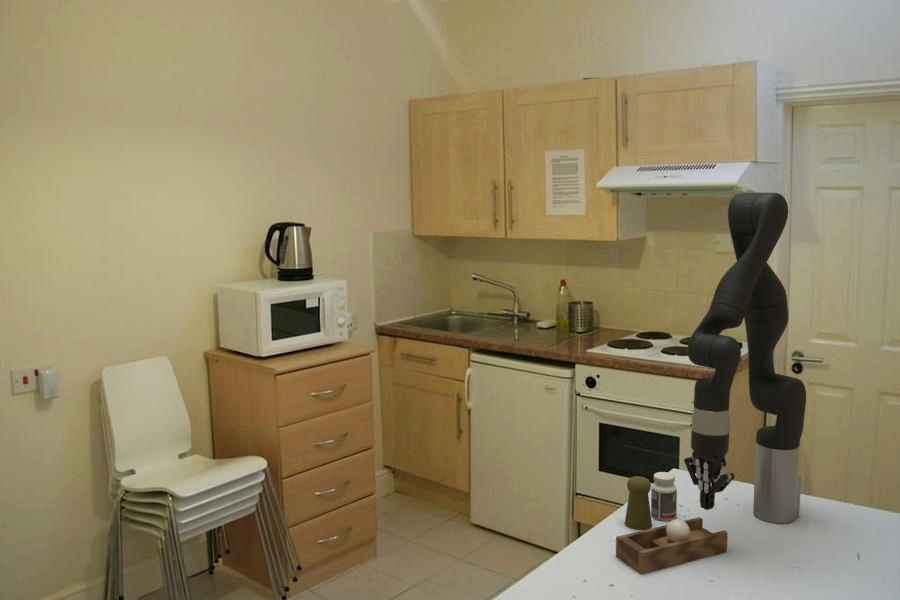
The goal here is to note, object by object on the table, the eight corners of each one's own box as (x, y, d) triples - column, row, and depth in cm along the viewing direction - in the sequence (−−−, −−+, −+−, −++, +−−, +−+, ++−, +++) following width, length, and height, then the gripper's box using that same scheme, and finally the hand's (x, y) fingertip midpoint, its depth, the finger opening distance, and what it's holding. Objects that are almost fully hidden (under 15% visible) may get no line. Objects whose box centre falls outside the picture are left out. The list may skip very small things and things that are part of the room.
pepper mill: (652, 531, 175) (653, 483, 173) (624, 529, 176) (625, 482, 175) (651, 520, 181) (652, 474, 179) (624, 518, 182) (625, 472, 181)
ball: (679, 535, 167) (679, 513, 167) (694, 544, 163) (695, 522, 162) (660, 539, 165) (661, 518, 165) (676, 549, 161) (676, 526, 160)
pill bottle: (679, 514, 184) (680, 473, 182) (672, 523, 179) (673, 481, 177) (654, 509, 187) (655, 469, 185) (647, 518, 182) (648, 477, 180)
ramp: (698, 536, 172) (699, 517, 171) (727, 552, 164) (727, 532, 164) (615, 556, 163) (616, 536, 163) (641, 574, 156) (641, 553, 155)
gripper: (747, 435, 160) (743, 516, 162) (702, 418, 172) (698, 494, 174) (719, 439, 157) (715, 522, 159) (674, 422, 169) (671, 500, 171)
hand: (706, 508), depth 166 cm, fingers closed
